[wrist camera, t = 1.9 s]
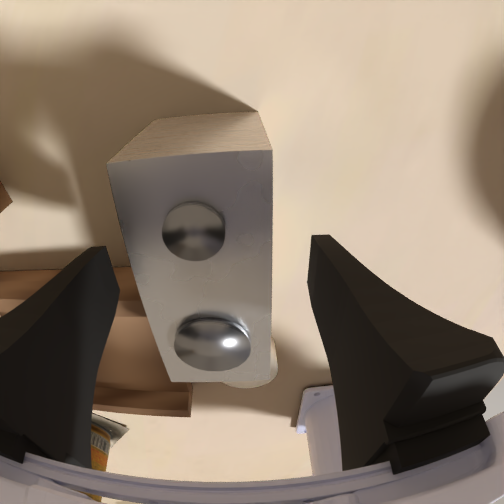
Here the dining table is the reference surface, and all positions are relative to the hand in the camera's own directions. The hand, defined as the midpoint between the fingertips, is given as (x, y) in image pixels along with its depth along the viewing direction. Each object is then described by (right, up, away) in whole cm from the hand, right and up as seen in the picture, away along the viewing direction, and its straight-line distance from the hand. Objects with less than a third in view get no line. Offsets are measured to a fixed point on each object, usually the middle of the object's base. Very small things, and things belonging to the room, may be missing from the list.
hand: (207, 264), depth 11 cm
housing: (0, +2, +3) cm, 4 cm away
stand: (-9, -5, +7) cm, 13 cm away
